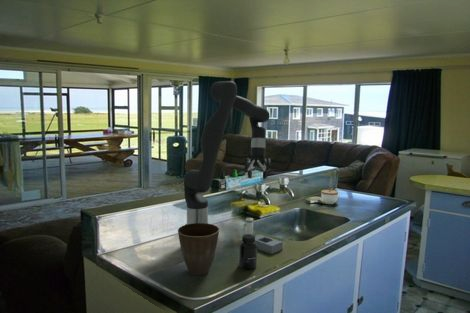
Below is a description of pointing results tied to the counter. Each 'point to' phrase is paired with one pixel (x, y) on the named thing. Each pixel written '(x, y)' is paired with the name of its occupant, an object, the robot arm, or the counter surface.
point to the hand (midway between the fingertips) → (257, 178)
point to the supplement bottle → (248, 252)
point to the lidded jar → (329, 196)
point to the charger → (249, 226)
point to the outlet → (268, 244)
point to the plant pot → (198, 246)
